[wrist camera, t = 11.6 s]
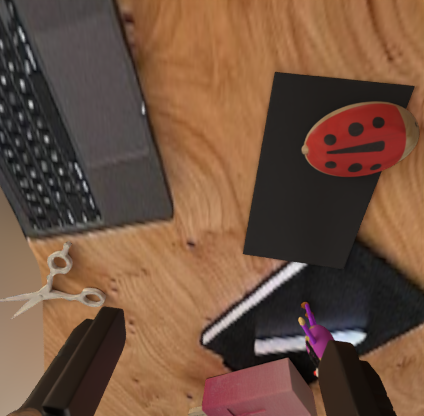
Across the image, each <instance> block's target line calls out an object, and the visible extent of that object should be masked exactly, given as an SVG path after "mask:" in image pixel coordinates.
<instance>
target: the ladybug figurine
mask: <svg viewBox="0 0 424 416" xmlns="http://www.w3.org/2000/svg"><path fill="white" fill-rule="evenodd" d="M418 139H419V126H418V123H417V121H416V119H415V118H414V116H413V115H412V114H411V113H410V112H409V111H408V110H406V109H405V108H403V107H401V106H399V105H396V104H393V103H389V102H377V101H374V102H363V103H357V104H353V105H349V106H346V107H343V108H340V109H338V110H335V111H333V112H331V113H330V114H328V115H326V116H325V117H323V118H322V119H321V120H320V121H318V122H317V123H316V124H315V125H314V126H313V127H312V129H311V130H310V131H309V133H308V135H307V136H306V139H305V142H304V146H303V147H302V153H303V154H305V157H306V159H307V161H308V162H309V164H310V165H311V166H313V167H314V168H315V169H317V170H319V171H321V172H323V173H326V174H329V175H333V176H341V177H356V176H363V175H369V174H373V173H376V172H379V171H382V170H385V169H387V168H389V167H391V166H393V165H395V164H396V163H398V162H400V161H401V160H403V159H404V158H405V157H406V156H408V155H409V154H410V152H411V151H412V150H413V149H414V147H415V146H416V144H417V142H418Z"/></svg>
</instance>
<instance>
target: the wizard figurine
mask: <svg viewBox="0 0 424 416" xmlns="http://www.w3.org/2000/svg"><path fill="white" fill-rule="evenodd" d="M301 307H302V308H306V311H307V313H306V314H305V316H306V317H307V318H309V321H310V325H311V327H310V328H308V327H307V325H306V323H305V321H304V319H303V318H302V317H299V323H300V325H301V326H302V328H303V329H304V331H305V333H306V338H305V342H306V348H307V351H308V353H309V357H310V359H311V360H312V361H313V363H314V365H315V366H316V371H314V372H313V374H314V375H316V376H317V377H318V366H319V363H320V360H321V358H322V355H323V353H324V350H325V348H326V345H327V343H328V341H329V340H334V338H333V336H332V335H331V333H330V332H329V331H328V330H327V329H326V328H325V327H323V326H321V325H317V324H316V321H315V318H314V313H313V312H311V310H310V307H309V303H308V302H303V303H302V304H301Z"/></svg>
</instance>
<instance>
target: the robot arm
mask: <svg viewBox="0 0 424 416" xmlns="http://www.w3.org/2000/svg"><path fill="white" fill-rule="evenodd" d="M125 340H126V329H125V320H124V311H123V309H119V308H113V307H106V306H104V307H102V308H101V309H100V311H99V312H98V314H97V316H96V317H95V319H94V320H92V319H86V320H84V321H83V322H82V323H81V324H80V325H78V326H77V327H76V328H75V329H74V330H73V331H72V333H71V334H70V336H69V337H68V339H67V340H66V342H65V345H63V346H62V348H61V349H60V351H59V352H58V355H57V356H56V357H55V358H54V360H53V361H52V363H51V364H50V366H49V367H48V369H47V370H46V372H45V373H44V375H43V376H42V378H41V379H40V381H39V382H38V384H37V385H36V387H35V388H34V390H33V391H32V393H31V394H30V396H29V397H28V399H27V400H26V401H25V403H24V404H23V405H22V406H21V407H20V408H19V409H18V410H16V411H14V412H12V413H10V414H8V415H7V416H94V414H95V412H96V409H97V407H98V405H99V403H100V400H101V398H102V396H103V394H104V391H105V389H106V387H107V385H108V382H109V380H110V378H111V376H112V373H113V371H114V369H115V367H116V364H117V362H118V360H119V358H120V355H121V353H122V351H123V348H124V345H125ZM318 380H319V385H320V389H321V394H322V398H323V402H324V407H325V411H326V415H327V416H397V415H396V413H395V411H393V406H392V404H391V402H390V399H389V397H387V393H386V390H385V388H384V386H383V383H382V381H381V379H380V377H379V375H378V374H377V373H376V372H375V370H374V369H373V368H372V367H371V365H370V364H369V363H368V362H367V361H362V360H359V358H358V355H357V353H356V350H355V348H354V346H353V344H351V343H348V342H342V341H335V340H329V341H328V343H327V345H326V348H325V350H324V353H323V355H322V358H321V360H320V363H319V366H318Z"/></svg>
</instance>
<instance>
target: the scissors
mask: <svg viewBox="0 0 424 416" xmlns="http://www.w3.org/2000/svg"><path fill="white" fill-rule="evenodd" d="M71 244H72V243H71V242H70V241H68V242H66V243H65V244H64V248H63V250H62V251H56V252H54V253H53V254H52V255H50V256H49V257H48V266H49V268H50V274H49V275H48V276H47V280H48V282H47V285H45V286H44V287H43V288H42V289H41V290H40V291H38V292H33V293H27V294H22V295H18V296H13V297H9V298H5V299H0V302H2V301H15V300H29V299H30V300H29V301H28V302H27V303H26V304H25V305H24V306H23V307H22V308H21V309H20V310H19V311H18V312H17V313H16V314H15V315H14V316H13V317H12V318H14V317H16V316H17V315H19V314H21V313H22V312H24V311H26V310H27V309H29V308H31V307H32V306H34V305H35V304H37V303H39V302H40V301H42V300H46V299H53V298H64V299H67V300H69V301H71V300H78V301H80V302H82V303H83V304H85V305H88V306H91V307H98V306H101V305H102V304H103V303H104V301H105V299H106V296H105V294H104V293H103V292H102V291H100V290H98V289H95V288H84V290H83V291H82V293H81V294H76V295H72V294H67V293H63V292H60V291H57V290H52V283H53V276H54V275H55V274H57V273H62V274H66V273H67V272H68V271H69V270H70V269H71V268H72V259H71V257H70V256H69V255H68V250H69V247H70V246H71ZM55 257H61V258H63V259H64V260H65V261H66V263H67V266H66V267H64V268H61V267H58V266H57V265H56V264H55V263H54V258H55ZM88 294H94V295H97V296H98V297H99V298H100V300H101V301H99V302H94V301H90V300H88V299H87V298H86V296H85V295H88Z"/></svg>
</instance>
